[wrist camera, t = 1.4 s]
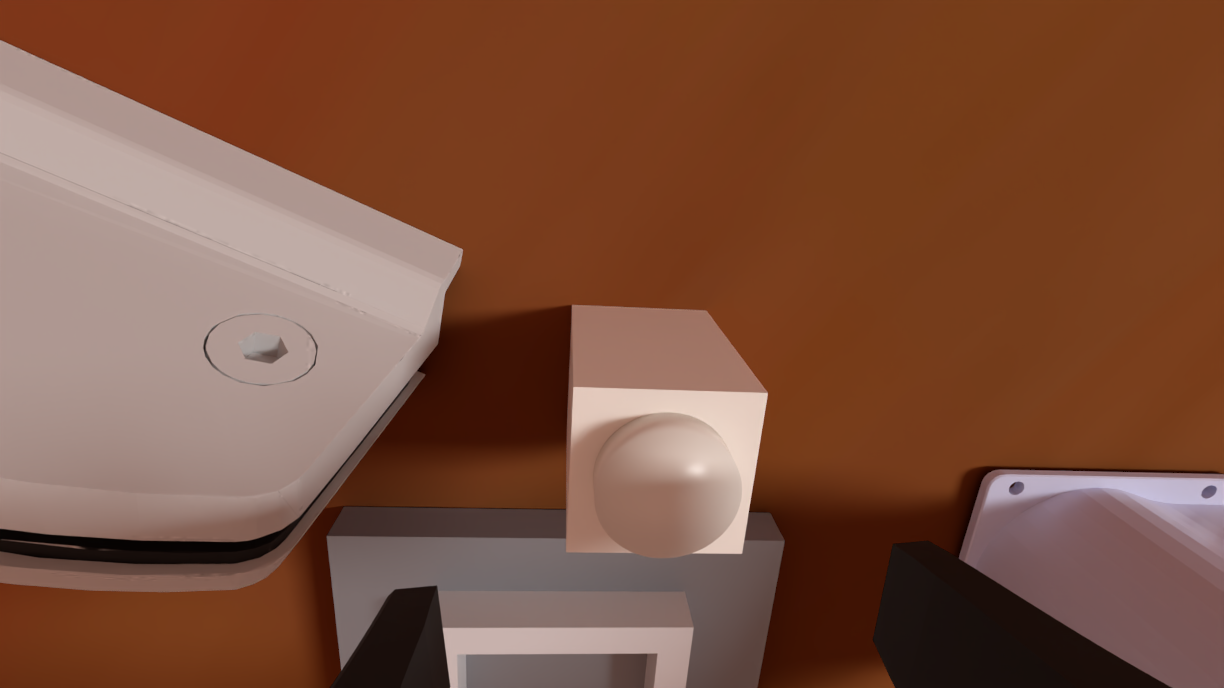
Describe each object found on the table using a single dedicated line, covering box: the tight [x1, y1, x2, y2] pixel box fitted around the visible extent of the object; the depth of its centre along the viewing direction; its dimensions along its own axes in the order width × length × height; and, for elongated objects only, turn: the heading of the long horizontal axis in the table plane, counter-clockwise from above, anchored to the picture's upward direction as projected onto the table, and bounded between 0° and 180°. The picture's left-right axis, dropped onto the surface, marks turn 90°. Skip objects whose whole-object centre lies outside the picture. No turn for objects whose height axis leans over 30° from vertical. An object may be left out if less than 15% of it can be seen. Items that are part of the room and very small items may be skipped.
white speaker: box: [0, 40, 463, 592], centre depth 13 cm, size 17×5×10 cm, turn 64°
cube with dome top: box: [566, 305, 768, 558], centre depth 16 cm, size 4×4×7 cm
